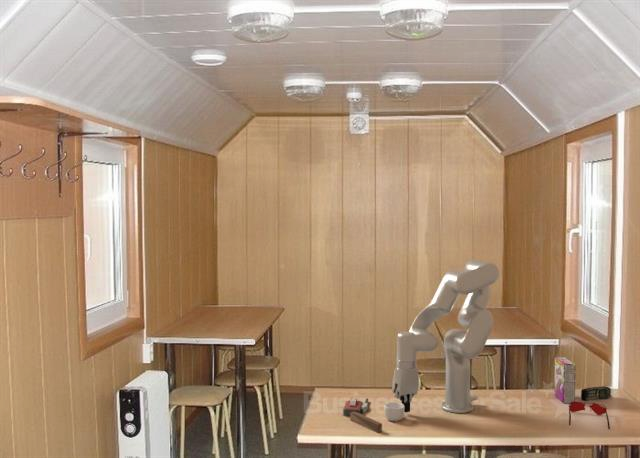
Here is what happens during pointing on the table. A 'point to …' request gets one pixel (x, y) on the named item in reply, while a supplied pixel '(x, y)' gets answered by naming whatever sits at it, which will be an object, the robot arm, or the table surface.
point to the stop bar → (366, 422)
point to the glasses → (581, 406)
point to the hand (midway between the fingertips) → (405, 411)
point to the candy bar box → (564, 380)
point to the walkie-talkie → (355, 406)
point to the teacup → (394, 411)
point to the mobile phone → (595, 393)
